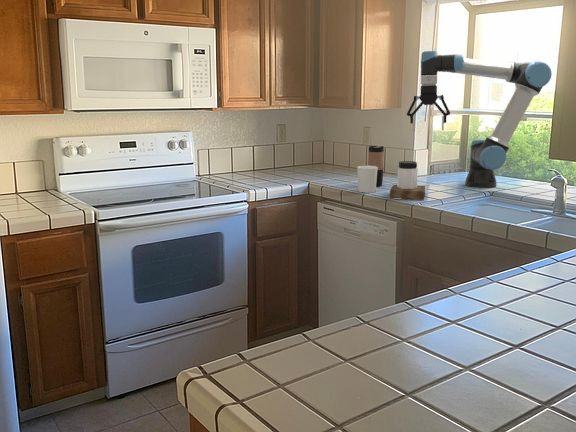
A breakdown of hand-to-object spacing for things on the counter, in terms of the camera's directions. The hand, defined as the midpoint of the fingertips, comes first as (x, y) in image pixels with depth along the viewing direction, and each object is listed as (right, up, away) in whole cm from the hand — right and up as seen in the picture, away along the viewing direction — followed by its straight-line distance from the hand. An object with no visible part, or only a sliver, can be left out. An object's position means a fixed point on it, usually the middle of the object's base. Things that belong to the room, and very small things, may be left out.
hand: (428, 130), depth 285 cm
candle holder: (-29, -29, +3) cm, 41 cm away
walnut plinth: (-12, -32, -9) cm, 35 cm away
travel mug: (-23, -26, +19) cm, 39 cm away
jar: (-12, -28, -10) cm, 32 cm away
